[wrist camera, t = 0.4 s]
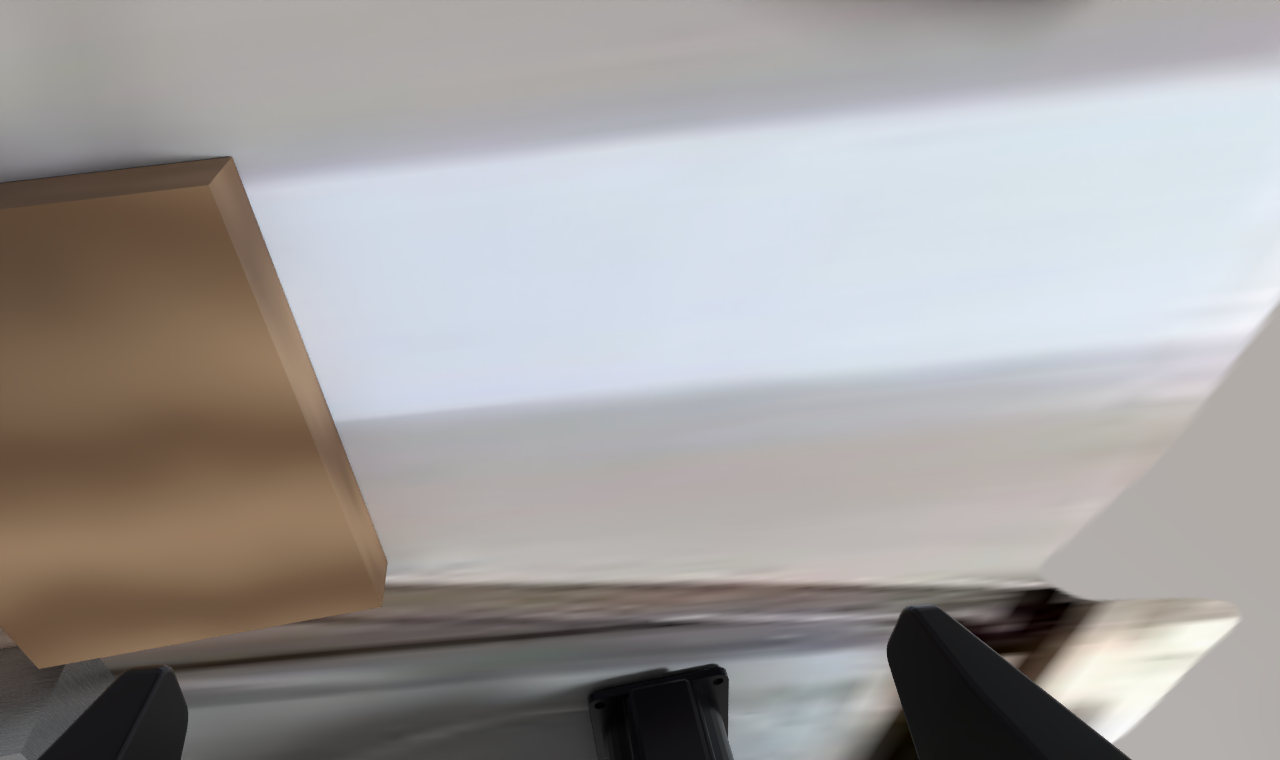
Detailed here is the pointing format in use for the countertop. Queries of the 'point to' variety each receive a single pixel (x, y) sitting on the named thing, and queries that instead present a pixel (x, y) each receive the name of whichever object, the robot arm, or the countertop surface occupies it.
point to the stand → (161, 424)
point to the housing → (43, 701)
